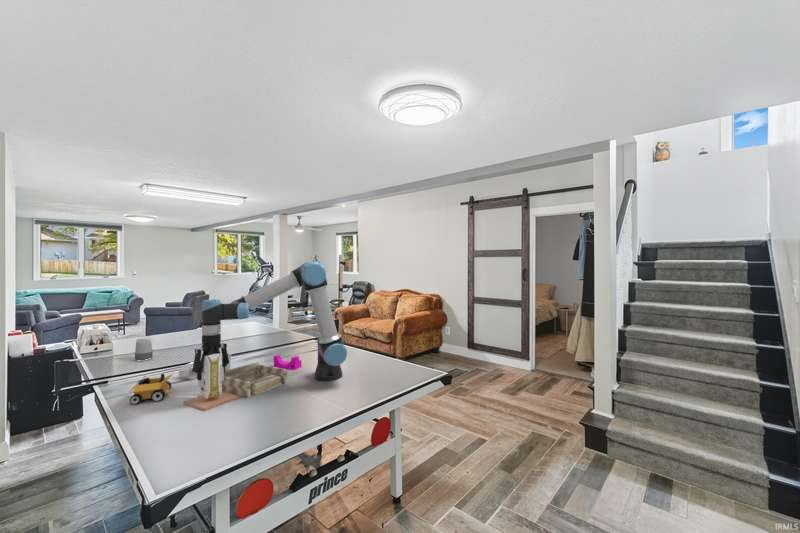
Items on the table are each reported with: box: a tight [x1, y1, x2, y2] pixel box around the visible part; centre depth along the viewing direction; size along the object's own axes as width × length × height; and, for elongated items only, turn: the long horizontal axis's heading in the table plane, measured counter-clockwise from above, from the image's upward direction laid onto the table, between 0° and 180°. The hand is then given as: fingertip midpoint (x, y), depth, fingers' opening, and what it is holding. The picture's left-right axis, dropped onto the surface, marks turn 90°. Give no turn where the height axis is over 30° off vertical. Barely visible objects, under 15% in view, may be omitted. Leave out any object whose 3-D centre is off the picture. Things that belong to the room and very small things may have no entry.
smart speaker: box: [134, 338, 153, 361], centre depth 224 cm, size 10×9×14 cm
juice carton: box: [200, 352, 223, 399], centre depth 156 cm, size 8×9×19 cm
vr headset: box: [178, 356, 201, 381], centre depth 187 cm, size 14×9×11 cm, turn 150°
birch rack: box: [222, 361, 288, 399], centre depth 175 cm, size 23×23×8 cm
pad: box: [182, 391, 240, 412], centre depth 156 cm, size 16×16×1 cm
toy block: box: [273, 354, 303, 371], centre depth 207 cm, size 15×6×8 cm, turn 73°
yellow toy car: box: [129, 372, 174, 405], centre depth 161 cm, size 15×15×11 cm
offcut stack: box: [250, 375, 283, 396], centre depth 171 cm, size 7×16×5 cm, turn 150°
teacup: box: [221, 353, 232, 371], centre depth 194 cm, size 12×15×10 cm
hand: (211, 383), depth 156 cm, fingers closed on juice carton, 9 cm apart
